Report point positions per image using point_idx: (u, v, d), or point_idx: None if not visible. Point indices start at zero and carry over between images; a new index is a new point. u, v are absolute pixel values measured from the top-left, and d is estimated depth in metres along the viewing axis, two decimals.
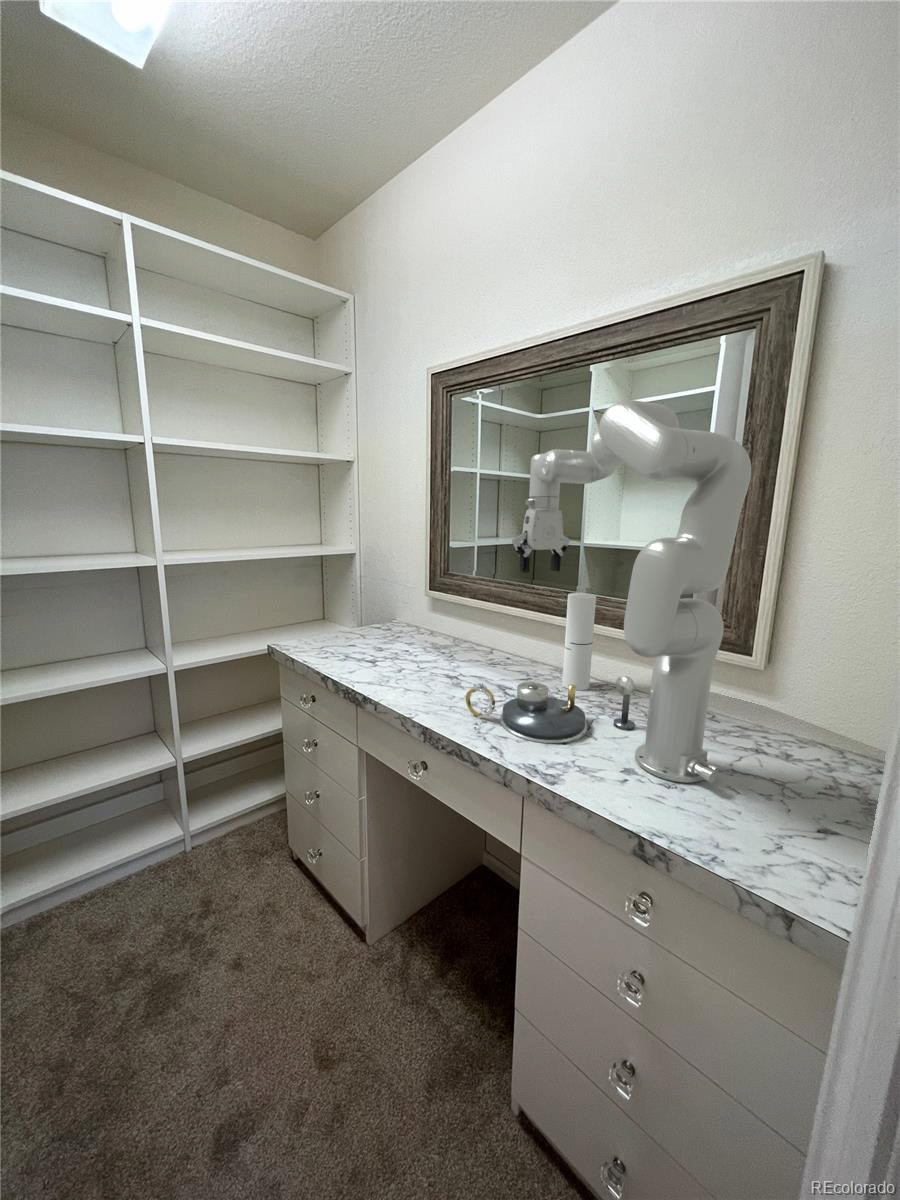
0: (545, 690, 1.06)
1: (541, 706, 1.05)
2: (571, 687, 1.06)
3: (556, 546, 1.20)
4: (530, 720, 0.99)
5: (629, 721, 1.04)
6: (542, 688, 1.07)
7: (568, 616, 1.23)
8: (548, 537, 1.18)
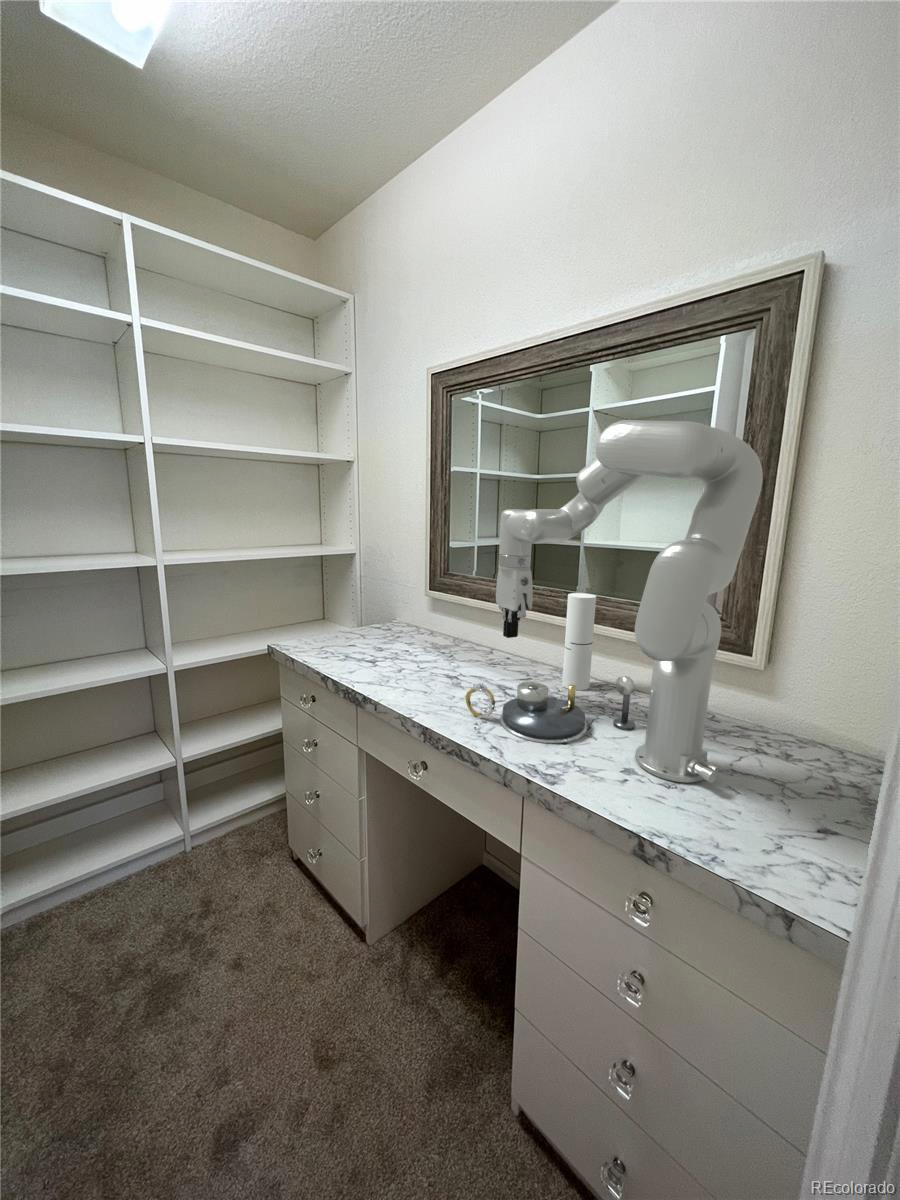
0: (545, 690, 1.06)
1: (541, 706, 1.05)
2: (571, 687, 1.06)
3: None
4: (530, 720, 0.99)
5: (629, 721, 1.04)
6: (542, 688, 1.07)
7: (568, 616, 1.23)
8: None
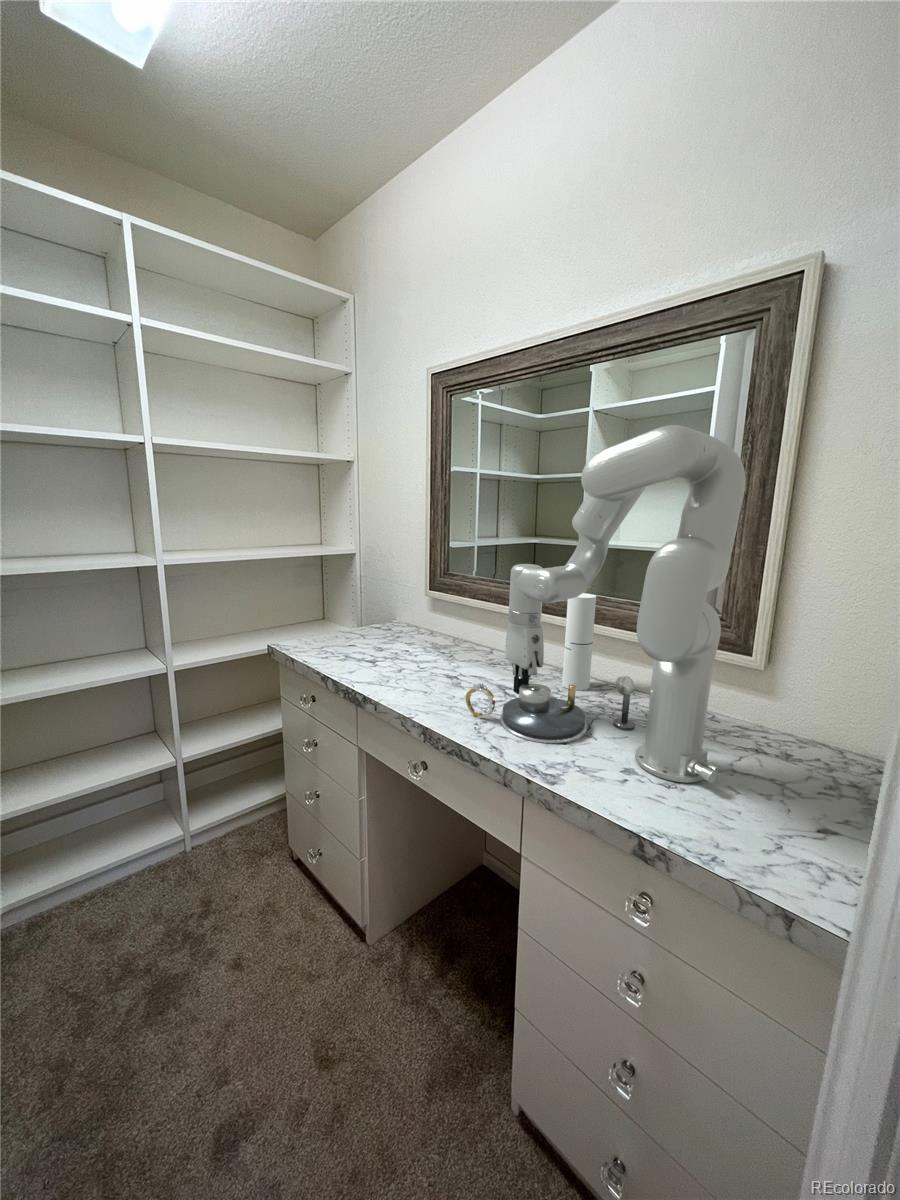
0: (547, 691, 1.05)
1: (544, 707, 1.04)
2: (571, 687, 1.06)
3: None
4: (530, 720, 0.99)
5: (629, 721, 1.04)
6: (544, 689, 1.06)
7: (568, 616, 1.23)
8: None
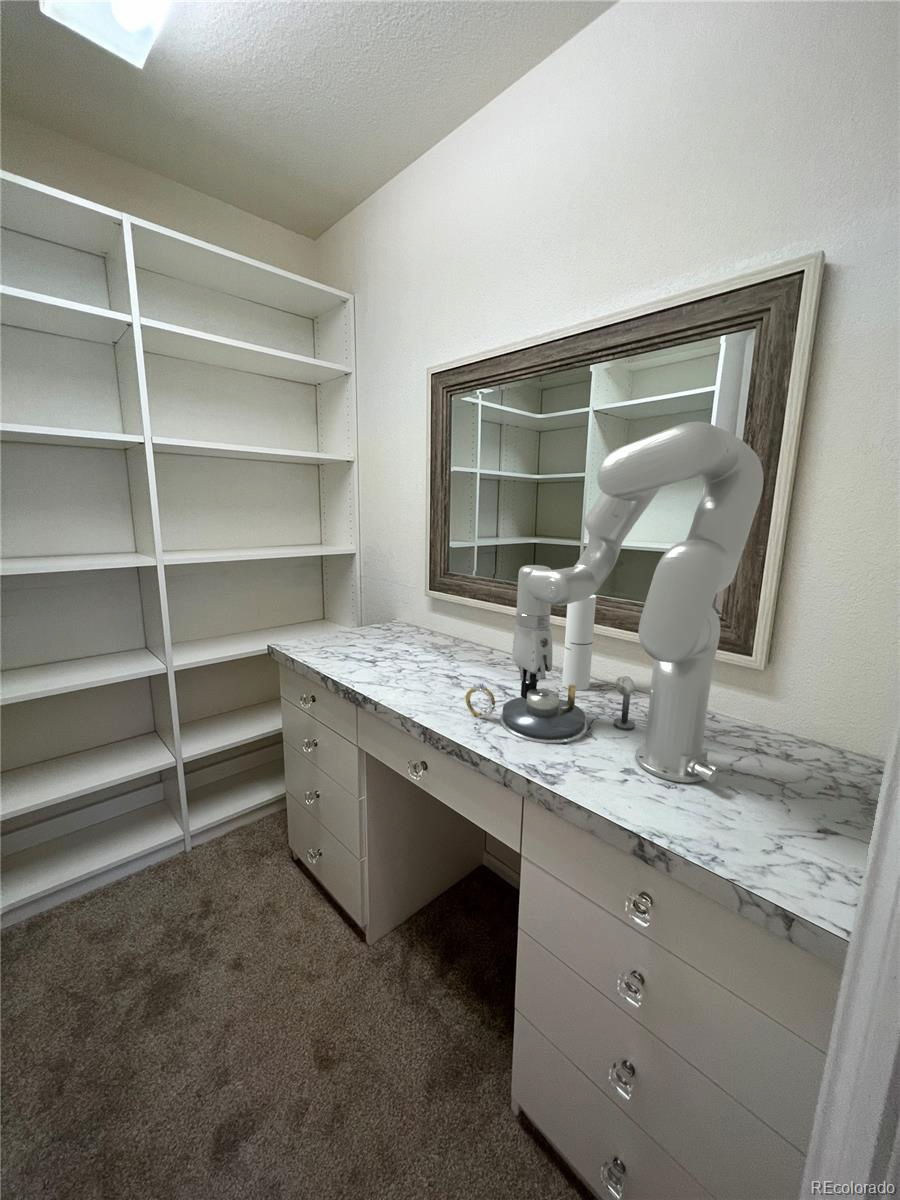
0: (556, 697, 1.02)
1: (553, 713, 1.01)
2: (571, 687, 1.06)
3: None
4: (530, 720, 0.99)
5: (629, 721, 1.04)
6: (553, 695, 1.03)
7: (568, 616, 1.23)
8: None
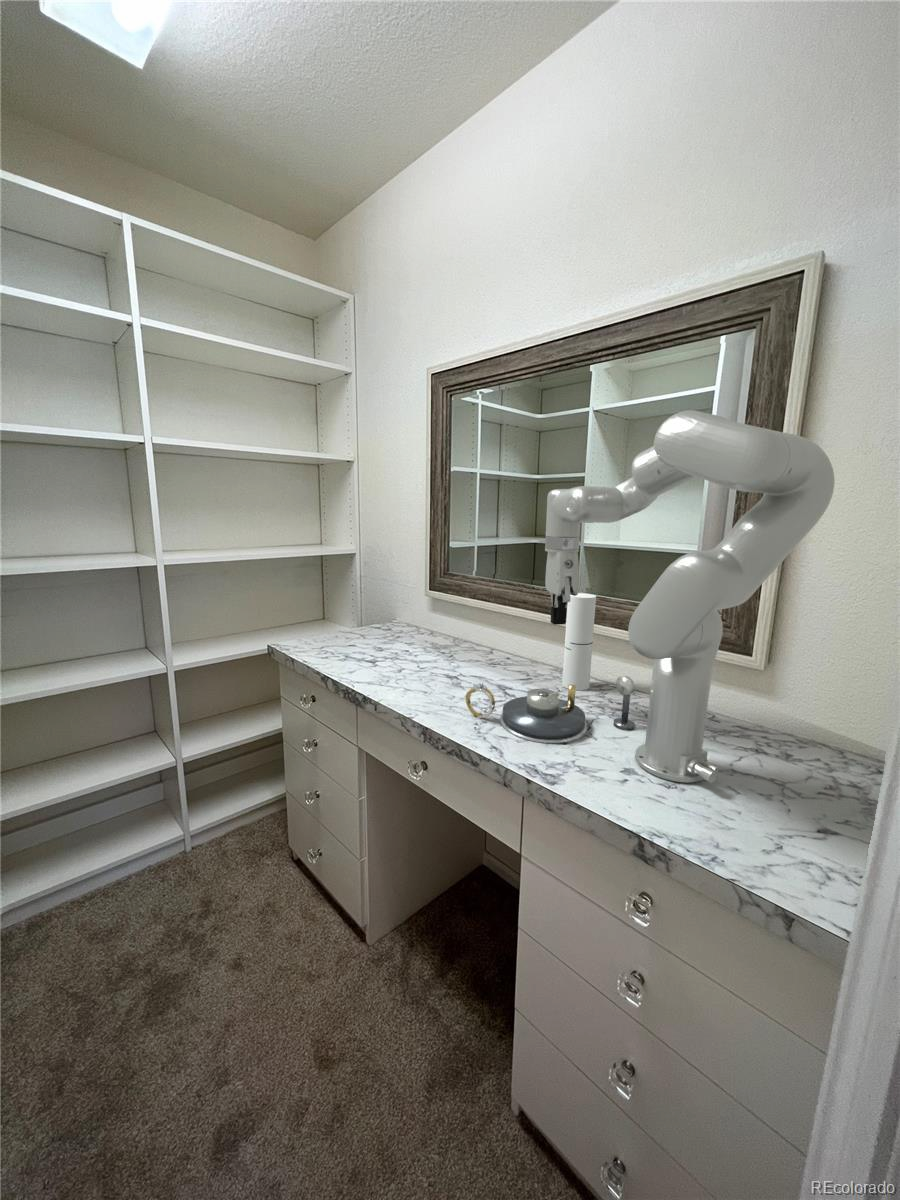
0: (556, 697, 1.02)
1: (553, 713, 1.01)
2: (571, 687, 1.06)
3: None
4: (530, 720, 0.99)
5: (629, 721, 1.04)
6: (553, 695, 1.03)
7: (568, 616, 1.23)
8: None
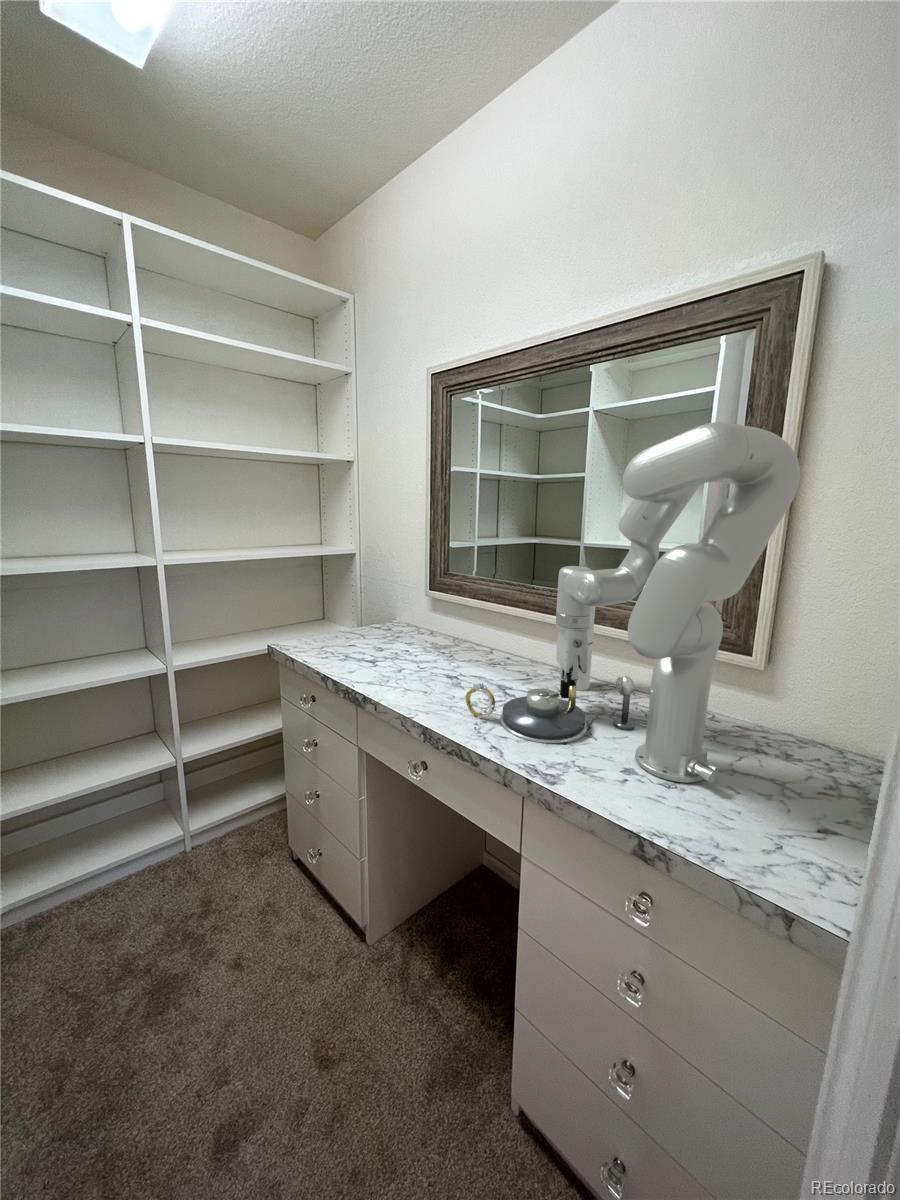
0: (556, 697, 1.02)
1: (552, 713, 1.01)
2: (572, 687, 1.05)
3: None
4: (529, 720, 1.00)
5: (629, 721, 1.04)
6: (553, 695, 1.03)
7: None
8: None
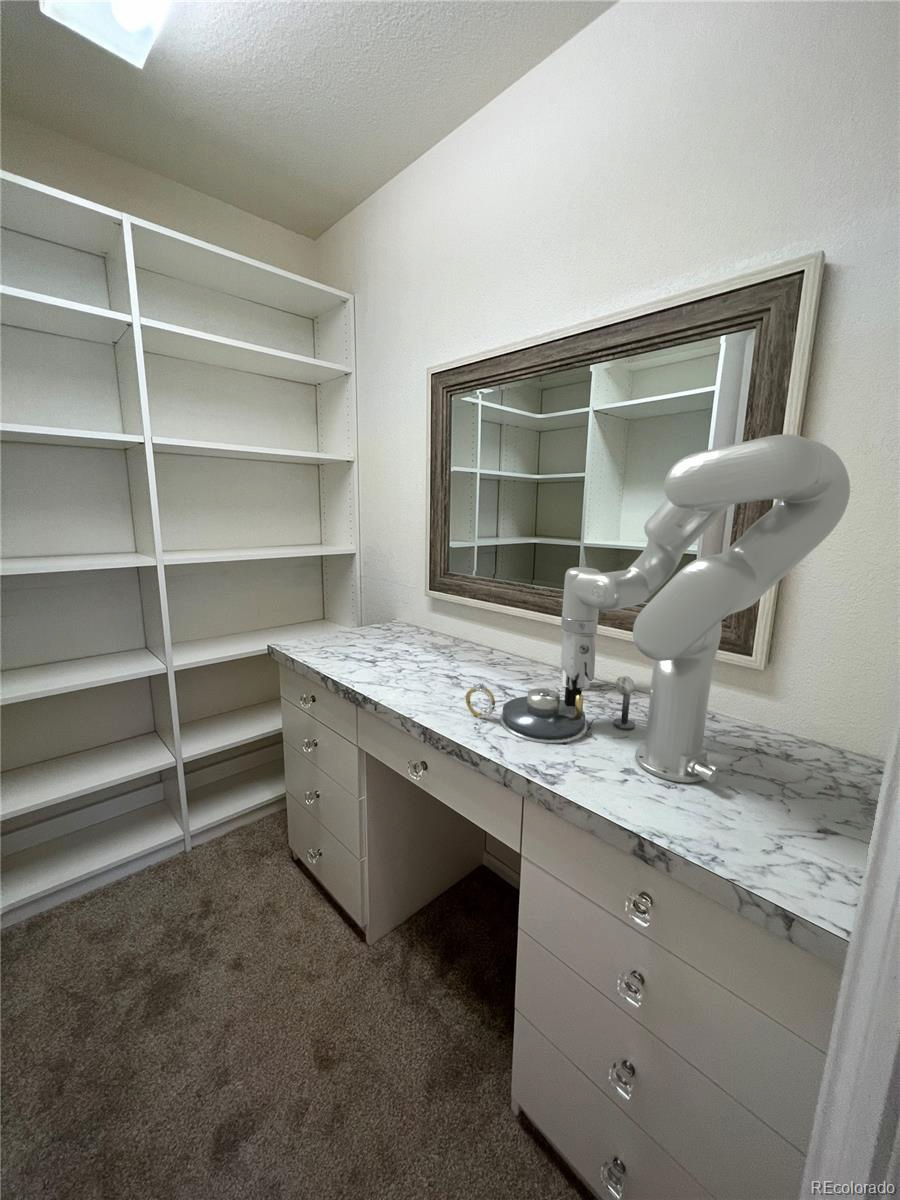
0: (549, 699, 1.01)
1: (541, 713, 1.01)
2: (576, 696, 1.00)
3: None
4: (516, 712, 1.03)
5: (629, 721, 1.04)
6: (551, 697, 1.02)
7: None
8: None
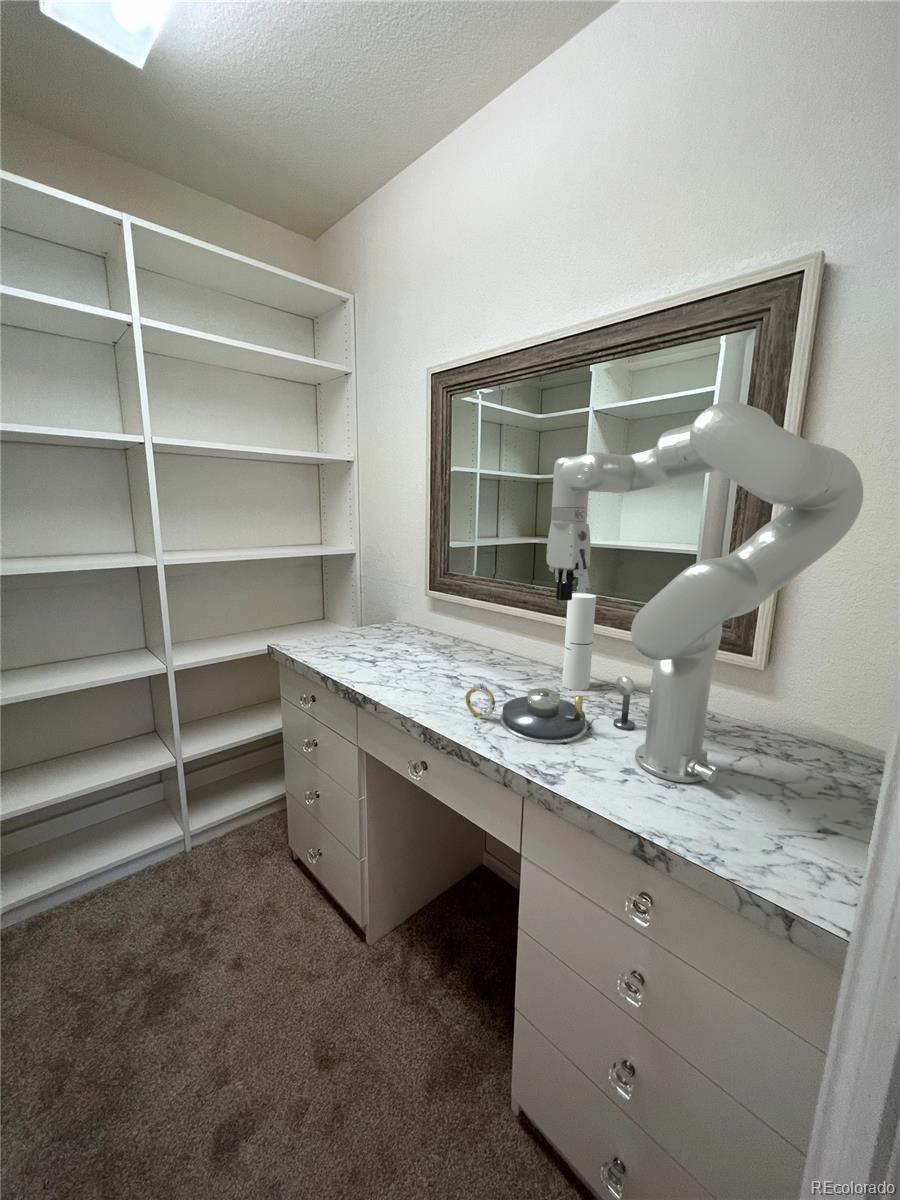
0: (548, 699, 1.01)
1: (539, 713, 1.01)
2: (576, 697, 1.00)
3: None
4: (515, 711, 1.04)
5: (629, 721, 1.04)
6: (550, 697, 1.02)
7: (568, 616, 1.23)
8: None
